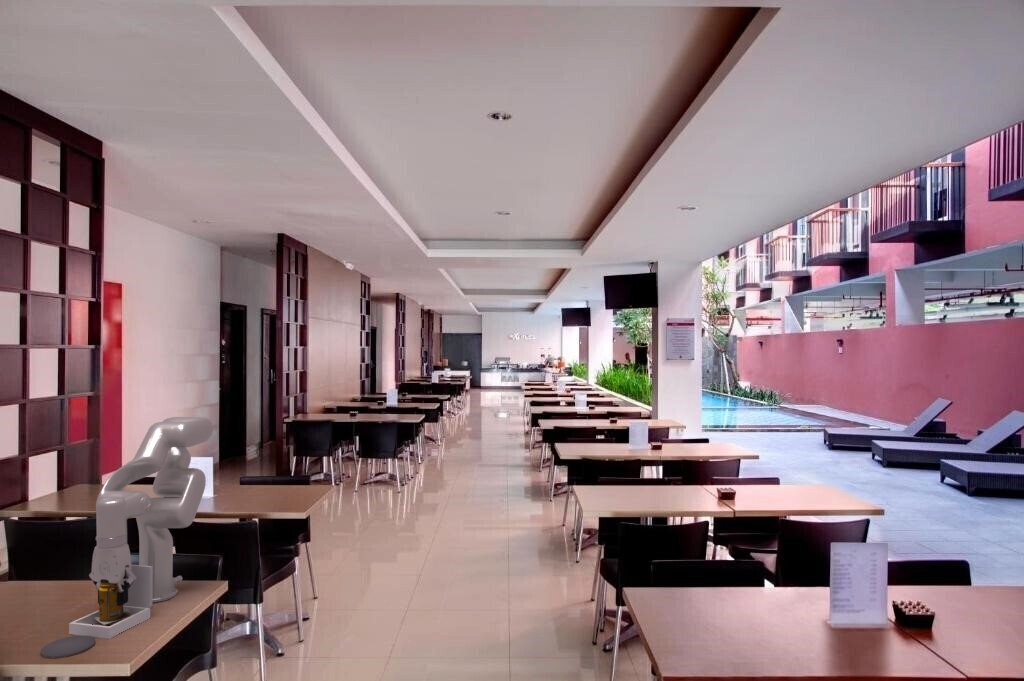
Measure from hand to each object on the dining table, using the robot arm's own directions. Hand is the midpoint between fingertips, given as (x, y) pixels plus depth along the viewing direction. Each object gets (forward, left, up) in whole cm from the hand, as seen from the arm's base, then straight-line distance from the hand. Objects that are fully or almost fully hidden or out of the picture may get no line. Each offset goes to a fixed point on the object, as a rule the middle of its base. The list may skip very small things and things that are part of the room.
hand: (113, 602), depth 192 cm
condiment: (0, 0, -4) cm, 5 cm away
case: (+1, 0, -6) cm, 6 cm away
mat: (+15, +1, -6) cm, 17 cm away
